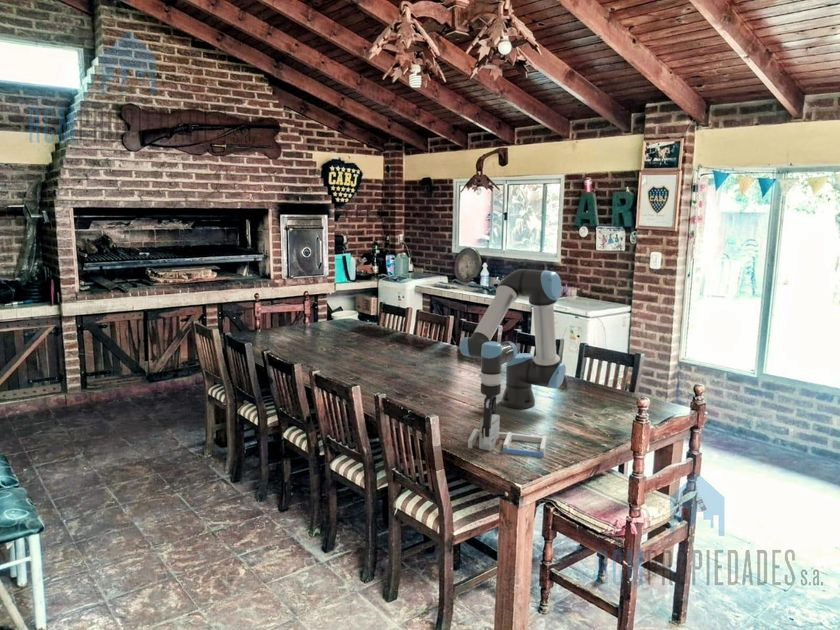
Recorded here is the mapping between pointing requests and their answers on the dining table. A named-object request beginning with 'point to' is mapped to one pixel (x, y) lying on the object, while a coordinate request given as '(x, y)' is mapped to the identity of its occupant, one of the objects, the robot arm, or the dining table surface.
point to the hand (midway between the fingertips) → (489, 439)
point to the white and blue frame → (512, 436)
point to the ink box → (494, 433)
